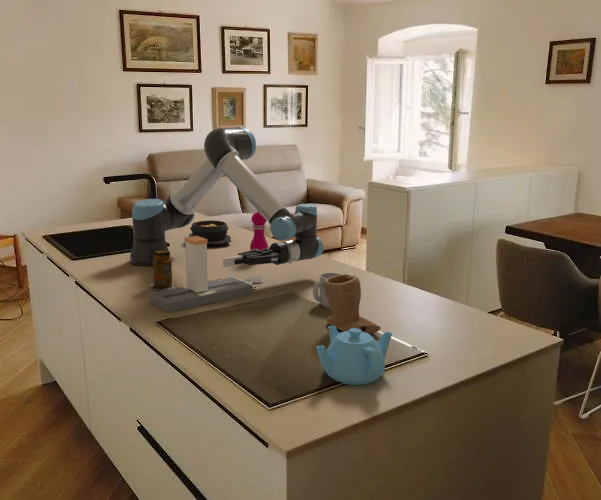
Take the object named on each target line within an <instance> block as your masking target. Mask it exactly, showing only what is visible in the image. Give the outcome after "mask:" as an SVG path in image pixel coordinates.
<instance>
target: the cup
mask: <svg viewBox="0 0 601 500" xmlns="http://www.w3.org/2000/svg"><path fill="white" fill-rule="evenodd" d="M336 275H343V274H341V273H339V272H322V273H321V274H320V275H319V280H318V281H316V282H315V283H314V285H313V289H312V295H313V298H314V300H315V301H316V302H319V304H320V305H321V306H322V307H328V308H331V307H330V305H329V302H328V300H327V298H326V295H325V291H324V282H325V280H326V279H327V278H329V277H333V276H336Z"/></svg>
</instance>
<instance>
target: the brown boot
mask: <svg viewBox="0 0 601 500" xmlns="http://www.w3.org/2000/svg"><path fill="white" fill-rule="evenodd" d="M361 287H362V286H361V281H360V279H359V277H358V276H357V275H355V274H354V275H350V274H346V273H343V274H342V275H336V276H333V277H329V278H327V279H326V280H325V282H324V291H325V295H326V298H327V300H328V302H329V305H330V307H329V308H330V310H331V316H330V315H329V316H328V317H326V322H327V323H328V324H329V326H335V327H336V329H337V330H340V332H345V331H349V329H352V328H357V329H360V330H361V332H365V333H368V334H371V333H373V334H375V333H378V332H379V331H381V329H382V328H381V326H380V325H378V324H376V323H374V322H372V321H370V320H369V319H367V318H365V317H362V316H361V315H360V303H361V299H362V298H361V297H362V288H361ZM371 335H372V334H371Z"/></svg>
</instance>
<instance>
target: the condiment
mask: <svg viewBox="0 0 601 500" xmlns="http://www.w3.org/2000/svg"><path fill="white" fill-rule="evenodd" d="M172 270H173V269H172V259H171V252H170V251H169V249H168V250H157V251H155V252H154V259H153V266H152V274H153V275H152V278H153V283H152V282H151V283H150V286H151V288H152V290H153V292H158V291H164V290H169V289H174V288H176V286H175V285H174V283H173V271H172Z"/></svg>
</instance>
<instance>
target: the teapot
mask: <svg viewBox="0 0 601 500" xmlns="http://www.w3.org/2000/svg"><path fill="white" fill-rule="evenodd" d="M327 329H328V335H329V340H330V341H329V342H330V343H329V345H328V347H327V348H326V347H325V345H322V344H321V345H317V346H315V349H316V352H317V355H318V359H319V362H320V365H321V369H323V370H324V371H325V373H326V374H327V375H328V376H329V378H330V379H332V378H333V379H335V380H338V381H340V382H342V383H344V384H343V385H347V386H365V385H369V384H372V383H374V382H376V381H377V380H378V379H379V378H380V377H381V376H382V375H383V374H384V372H385V368H386V367H385V358H386V355H387V351H388V349H389V346H390V342H391V338H392V337H393V333H392V332H391V331H384V332H383V334H382V335H381V336H380V338H379V340H378V341H376V340H375V338H374V336H372V334H371V335H370V334H368V333H365V332H361V330H360V329H357V328H352V329H349V331H345V332H344V331H340V332H339V331H338V329H337V328H336V327H335V326H332V325H329V326H328V327H327ZM333 379H332V380H333ZM335 380H334V381H335ZM342 383H341V384H342Z"/></svg>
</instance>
